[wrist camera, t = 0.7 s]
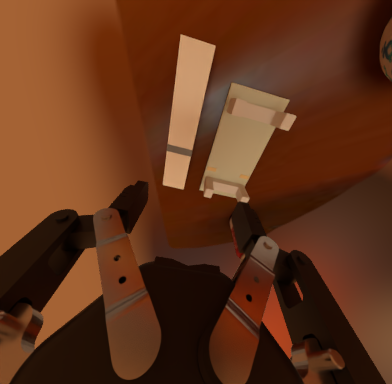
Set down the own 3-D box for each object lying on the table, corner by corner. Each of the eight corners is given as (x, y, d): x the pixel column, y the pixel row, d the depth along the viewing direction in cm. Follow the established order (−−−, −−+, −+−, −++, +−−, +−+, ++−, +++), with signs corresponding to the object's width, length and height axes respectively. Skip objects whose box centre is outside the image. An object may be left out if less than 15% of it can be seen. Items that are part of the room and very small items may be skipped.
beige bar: (184, 45, 20) (180, 33, 17) (213, 55, 21) (216, 45, 17) (167, 175, 33) (162, 184, 29) (185, 179, 33) (183, 189, 29)
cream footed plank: (231, 82, 22) (239, 78, 18) (287, 100, 23) (309, 100, 18) (199, 188, 34) (198, 203, 29) (237, 196, 35) (243, 212, 30)
